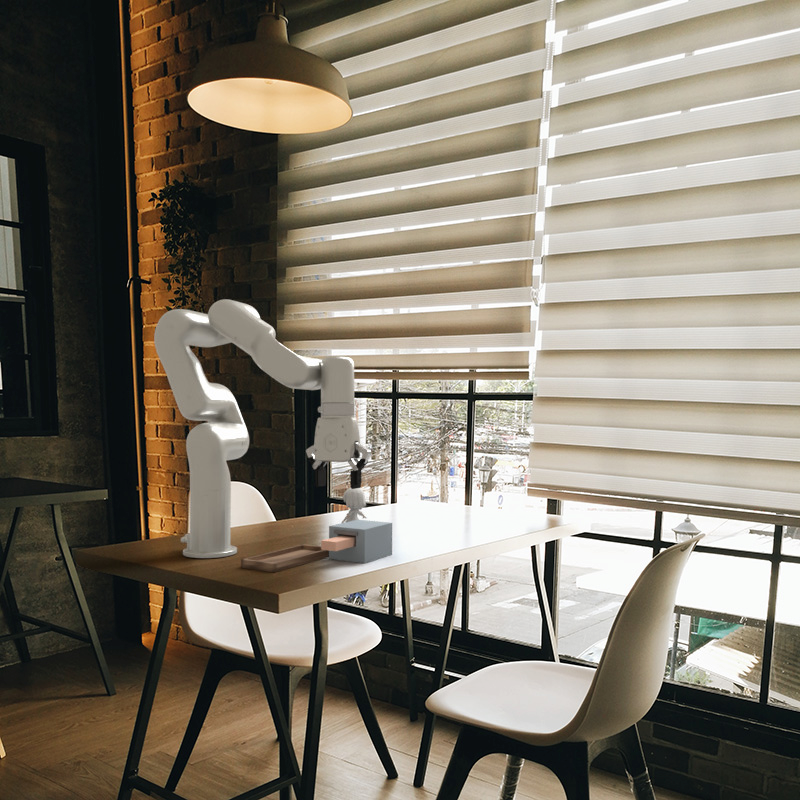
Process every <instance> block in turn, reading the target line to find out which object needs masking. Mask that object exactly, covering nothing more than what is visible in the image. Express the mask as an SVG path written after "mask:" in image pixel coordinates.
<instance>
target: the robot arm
mask: <svg viewBox="0 0 800 800" xmlns="http://www.w3.org/2000/svg"><path fill="white" fill-rule="evenodd" d="M276 335H277V334H276V330H275V329H274V327H273V326H272V325H270V324H269V323H267V322H266V321H264V320H262V319H261V316H260V314H259V312H258V310H257V309H256V308H255V307H253V306H252V305H249V304H247V303H244V302H240V301H237V300H232V299H225V298H224V299H220V300H217V301H216V302H214V303H212V305H211V306H210V307H209V309H208V312H207V313H204V312H199V311H194V310H191V309H184V308H183V309H182V308H175V309H171V310H169V311H167V312H165V313H164V314H163V315H162V316H161V317H160V318H159V320H158V322H157V324H156V327H155V330H154V338H153V339H154V340H153V341H154V346H155V351H156V354H157V356H158V358H159V361H160V363H161V365H162V367H163V370H164V372H165V374H166V376H167V380H168V383H169V386H170V388H171V391H172V394H173V397H174V399H175V402H176V404H177V408H178V410H179V412H180V414H181V415H182V417H184V418H185V419H187V420H189V421H197V422H199V421H201V422H202V421H203V423H200V424H197V425H196V426H194V427H193V428H192V429H191V430H190V431H189V433H188V434H187V437H186V442H185V446H186V447H185V448H186V455H187V460H188V467H189V533H185V534H184V536H182V537H181V538H180V543H185V544H186V548H183V550H182V555H183V556H184V557H187V558H192V559H193V558H195V559H212V558H213V559H216V558H223V557H229V556H232V555H236V554H237V553H238V547H237V546H235V545H231V523H232V522H231V517H232V516H231V512H232V511H231V509H232V507H231V505H232V504H231V503H232V500H231V499H232V498H231V497H232V495H231V494H232V493H231V492H232V491H231V490H232V487H231V485H232V484H231V483H232V482H231V480H232V479H231V473H230V469H229V466H228V463H227V461H232V460H237V459H240V458H242V457H243V456H244V455H245V454H246V453H247V452H248V449H249V446H250V435H249V432H248V429H247V426H246V423H245V421H244V418H243V416H242V413H241V410H240V408H239V405H238V402H237V400H236V398H235V396H234V395H233V393H232V392H231V390H230V389H229V388H228V387H226V386H225V385H223V384H220V383H217V382H209V381H208V379H207V377H206V375H205V371H204V370H203V367H202V364H201V362H200V360H199V359H198V357H197V356H196V355H195V353H194V352H193V351H192V349H191V347H190V346H193V347H194V346H195V347H199V348H213V347H214V348H215V347H217V346H222V345H227V344H230V343H232V344H234V345H235V346H236V347H238V348H239V349H241V350H242V351H244V352H245V353H247V354H248V355H249V356H251V358H252V360H253V362H254V363H255V365H257V366H258V367H259V368H260V369H261V370H262V371H263V372H264V373H266V374H267V375H269V377H271V378H272V379H274V380H275V381H277V382H278V383H280V384H281V385H283V386H284V387H287V388H290V389H294V390H295V389H296V390H305V391H306V390H307V391H308V390H309V391H317V390H320V406H318V407H317V412H318V413H320V417H318V418H317V421H316V425H315V431H314V443H313V445H311V446H309V447H308V448H306V450H305V453H306V456H307V458H308V462H309V463H310V464H311V466H312V468H313V470H314V482H315V487H316V488H319V487H320V488H321V487H326V485H327V469H326V467H325V466H326V465H327V463H329V462H331V463H346V462H347V463H348V464H349V467H351V469H352V470H350V476H349V477H350V482H349V483H350V485H349V486H350V487H349V488H351V489H356V488H360V489H362V488H361V487H362V481H363V480H362V471H363V470H364V468H365V467H366V465H367V464H368V463H369V459H370V457H371V455H372V451H371V450H370V449H369V448H367V447H365V445H363V444H362V443H361V438H360V428H359V424H358V418H357V417H355V362H354V360H353V359H352V358H351V357H348V356H341V355H339V356H337V355H336V356H325V357H324V358H317V357H312V356H310V357H309V356H305V355H300V354H297V353H295V352H293V351H292V350H291V349H289V348H287V347H286V346H285V345H283V344H282V343H281V342H279V341H278V340H277V339H276ZM204 421H205V422H204Z"/></svg>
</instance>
